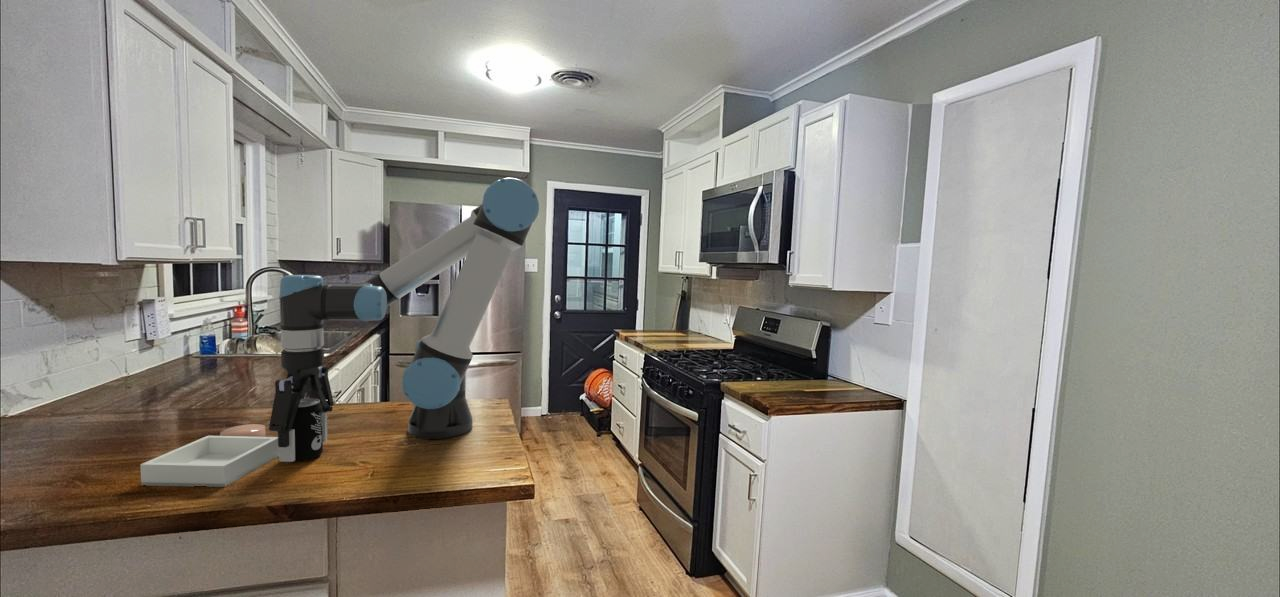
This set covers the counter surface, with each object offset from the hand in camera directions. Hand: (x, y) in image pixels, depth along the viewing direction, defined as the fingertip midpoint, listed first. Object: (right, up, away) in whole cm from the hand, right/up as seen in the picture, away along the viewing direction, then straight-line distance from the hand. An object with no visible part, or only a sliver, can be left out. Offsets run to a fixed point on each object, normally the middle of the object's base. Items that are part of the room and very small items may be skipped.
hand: (304, 450), depth 108 cm
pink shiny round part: (-18, 0, +6) cm, 19 cm away
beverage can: (0, -2, 0) cm, 2 cm away
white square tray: (-13, -2, -7) cm, 15 cm away
